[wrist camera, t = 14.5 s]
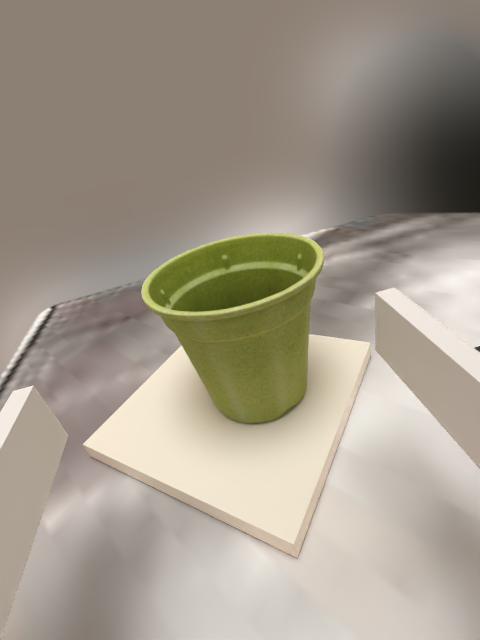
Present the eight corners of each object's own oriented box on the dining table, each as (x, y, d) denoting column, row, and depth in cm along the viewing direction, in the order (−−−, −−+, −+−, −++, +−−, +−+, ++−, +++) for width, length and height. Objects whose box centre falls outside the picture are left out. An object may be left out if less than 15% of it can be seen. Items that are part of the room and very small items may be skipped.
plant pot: (205, 348, 27) (172, 244, 23) (328, 337, 25) (318, 221, 21) (170, 450, 20) (108, 325, 15) (343, 447, 18) (331, 300, 13)
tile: (370, 356, 24) (370, 342, 24) (297, 558, 15) (293, 544, 14) (210, 330, 32) (206, 320, 31) (91, 456, 22) (82, 444, 21)
